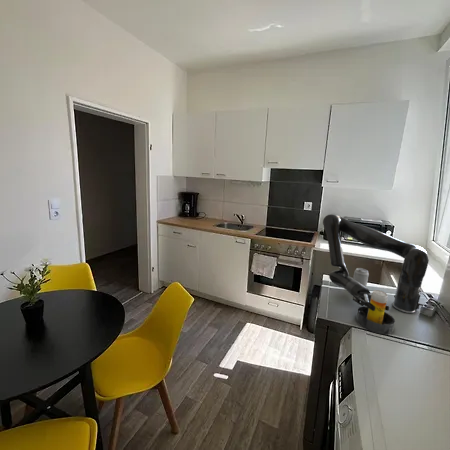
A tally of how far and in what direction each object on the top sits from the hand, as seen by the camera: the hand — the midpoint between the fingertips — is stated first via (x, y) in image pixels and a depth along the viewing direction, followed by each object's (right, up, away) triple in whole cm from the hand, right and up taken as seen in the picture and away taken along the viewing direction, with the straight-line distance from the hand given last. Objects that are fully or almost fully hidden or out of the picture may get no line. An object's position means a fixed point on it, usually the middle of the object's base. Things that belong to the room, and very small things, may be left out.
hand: (381, 308), depth 108 cm
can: (+11, -1, +39) cm, 41 cm away
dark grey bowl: (-1, -8, +4) cm, 9 cm away
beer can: (-1, -8, +4) cm, 9 cm away
